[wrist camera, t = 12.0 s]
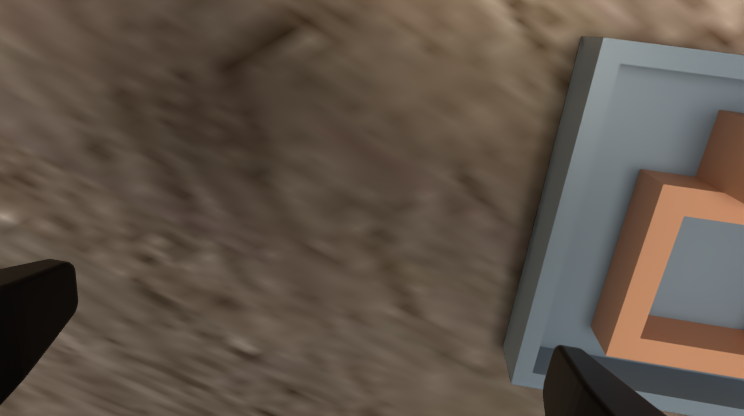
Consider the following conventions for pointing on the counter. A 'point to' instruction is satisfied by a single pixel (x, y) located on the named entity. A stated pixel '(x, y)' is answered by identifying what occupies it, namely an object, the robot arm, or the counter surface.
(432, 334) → the counter surface
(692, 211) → the tan rectangular frame
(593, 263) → the tray
